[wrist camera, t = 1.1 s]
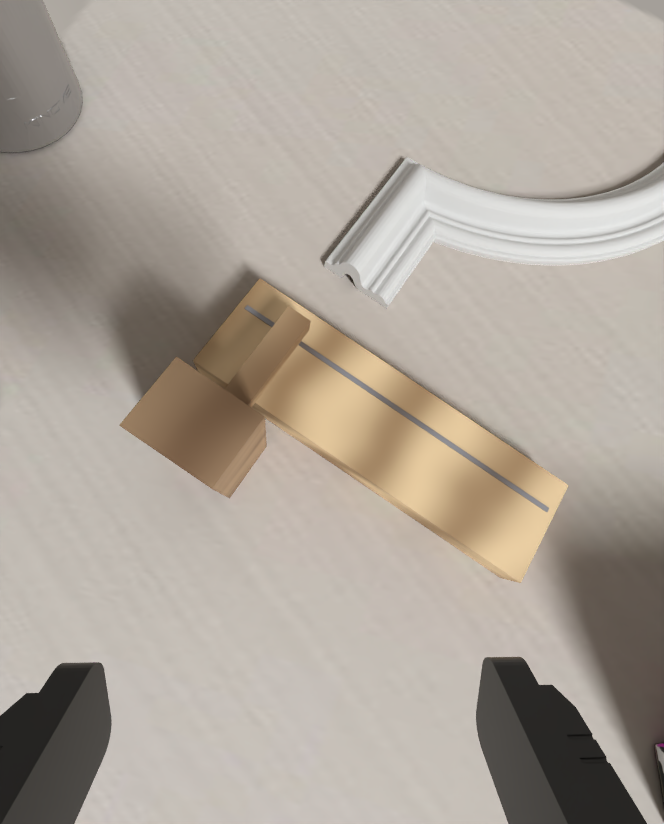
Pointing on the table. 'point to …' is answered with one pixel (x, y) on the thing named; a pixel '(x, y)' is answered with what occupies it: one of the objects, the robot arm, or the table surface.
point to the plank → (393, 436)
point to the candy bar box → (660, 763)
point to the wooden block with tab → (215, 411)
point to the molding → (491, 227)
